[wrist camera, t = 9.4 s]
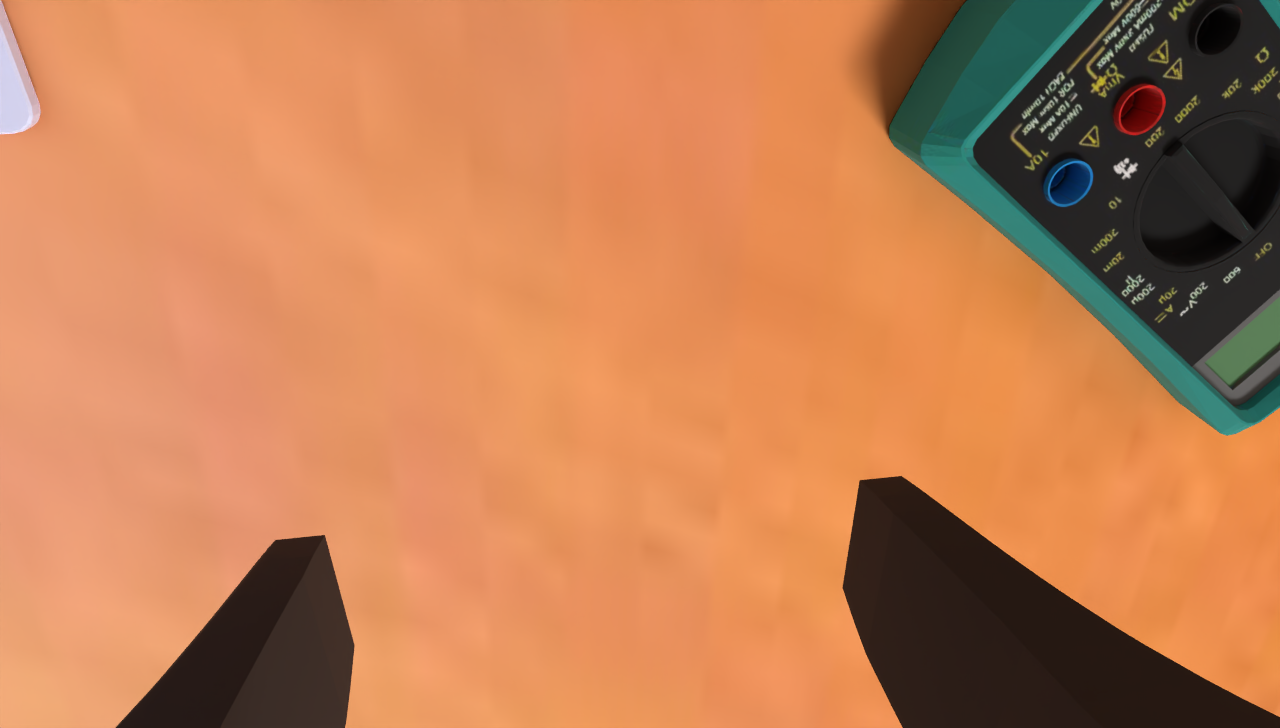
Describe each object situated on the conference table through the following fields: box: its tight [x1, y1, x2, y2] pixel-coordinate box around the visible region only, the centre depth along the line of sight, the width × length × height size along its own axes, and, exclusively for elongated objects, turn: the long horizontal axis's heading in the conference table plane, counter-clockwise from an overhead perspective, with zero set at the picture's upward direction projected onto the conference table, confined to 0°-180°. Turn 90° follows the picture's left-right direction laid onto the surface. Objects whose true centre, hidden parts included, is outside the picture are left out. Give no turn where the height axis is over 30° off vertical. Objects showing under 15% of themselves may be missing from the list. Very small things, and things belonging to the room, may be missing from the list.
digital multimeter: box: [889, 0, 1280, 435], centre depth 20 cm, size 7×15×3 cm, turn 52°
